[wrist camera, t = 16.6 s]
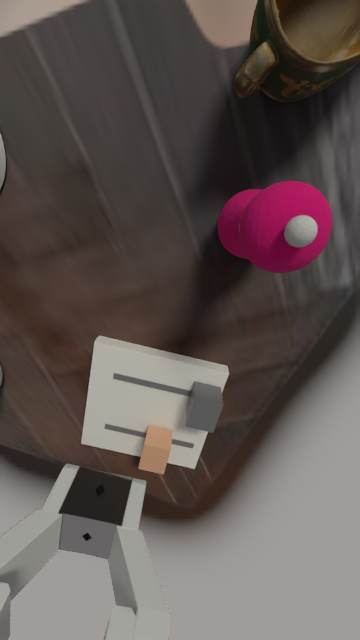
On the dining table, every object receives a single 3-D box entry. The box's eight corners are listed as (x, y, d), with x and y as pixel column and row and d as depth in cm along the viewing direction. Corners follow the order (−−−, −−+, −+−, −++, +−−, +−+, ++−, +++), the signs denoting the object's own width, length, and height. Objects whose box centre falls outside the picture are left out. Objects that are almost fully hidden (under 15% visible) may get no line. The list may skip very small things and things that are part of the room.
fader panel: (85, 434, 47) (80, 444, 45) (99, 335, 40) (94, 341, 38) (194, 459, 48) (194, 469, 46) (227, 365, 41) (229, 373, 39)
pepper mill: (272, 251, 34) (365, 290, 16) (216, 256, 35) (241, 300, 16) (274, 189, 32) (387, 147, 13) (213, 196, 32) (238, 165, 14)
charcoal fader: (186, 407, 41) (185, 426, 37) (194, 381, 39) (194, 398, 35) (211, 413, 41) (213, 432, 37) (220, 387, 39) (223, 405, 36)
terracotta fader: (143, 447, 44) (138, 468, 41) (148, 425, 43) (144, 444, 39) (166, 452, 44) (163, 474, 41) (172, 430, 43) (170, 450, 39)
